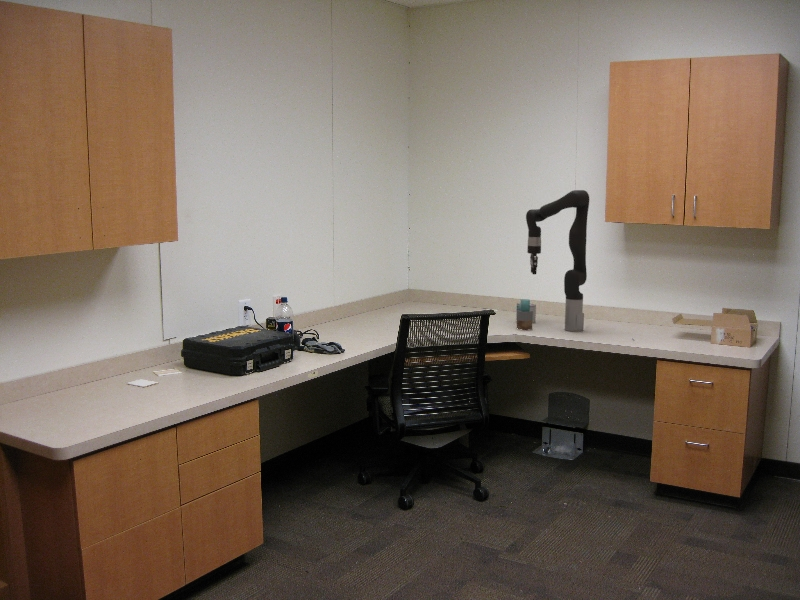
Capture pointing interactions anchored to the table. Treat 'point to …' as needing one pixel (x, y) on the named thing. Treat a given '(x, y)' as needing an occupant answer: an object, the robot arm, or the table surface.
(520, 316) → the grey top block
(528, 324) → the walnut base block
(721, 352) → the table surface
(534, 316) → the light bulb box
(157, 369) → the table surface
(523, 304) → the teal cylinder
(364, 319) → the table surface
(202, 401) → the table surface
